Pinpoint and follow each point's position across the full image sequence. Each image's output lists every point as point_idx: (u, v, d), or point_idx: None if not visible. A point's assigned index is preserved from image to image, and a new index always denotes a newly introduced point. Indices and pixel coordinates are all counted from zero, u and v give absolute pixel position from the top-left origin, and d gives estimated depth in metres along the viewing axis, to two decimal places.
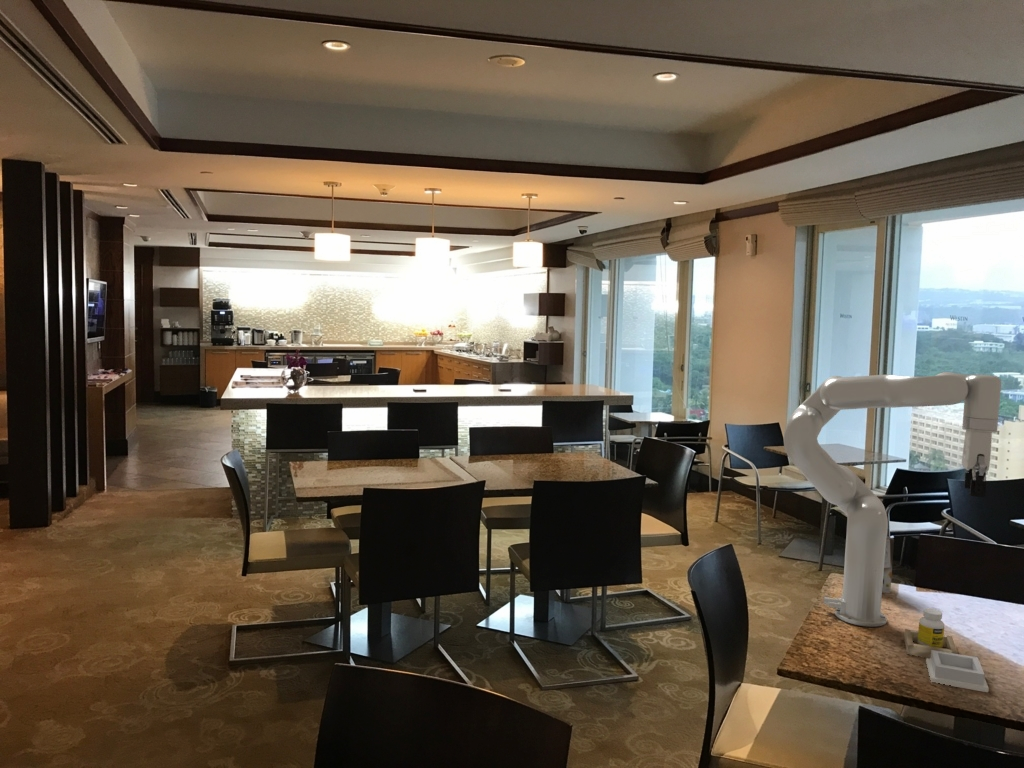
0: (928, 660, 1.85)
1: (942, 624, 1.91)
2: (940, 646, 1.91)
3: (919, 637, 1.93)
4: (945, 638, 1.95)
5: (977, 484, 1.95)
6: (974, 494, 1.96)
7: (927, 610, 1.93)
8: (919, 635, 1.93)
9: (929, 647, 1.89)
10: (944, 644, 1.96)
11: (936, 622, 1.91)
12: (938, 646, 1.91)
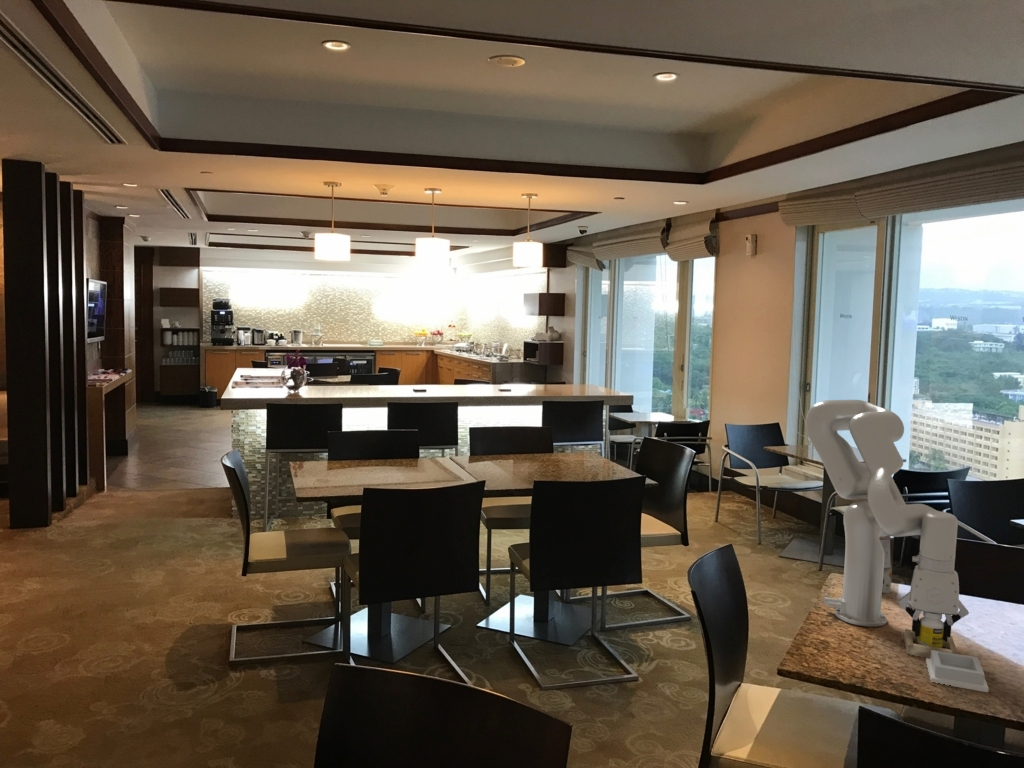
0: (928, 660, 1.85)
1: (942, 624, 1.91)
2: (940, 646, 1.91)
3: (919, 637, 1.93)
4: None
5: (950, 628, 1.91)
6: None
7: None
8: (919, 635, 1.93)
9: (929, 647, 1.89)
10: (944, 644, 1.96)
11: (936, 622, 1.91)
12: (938, 646, 1.91)
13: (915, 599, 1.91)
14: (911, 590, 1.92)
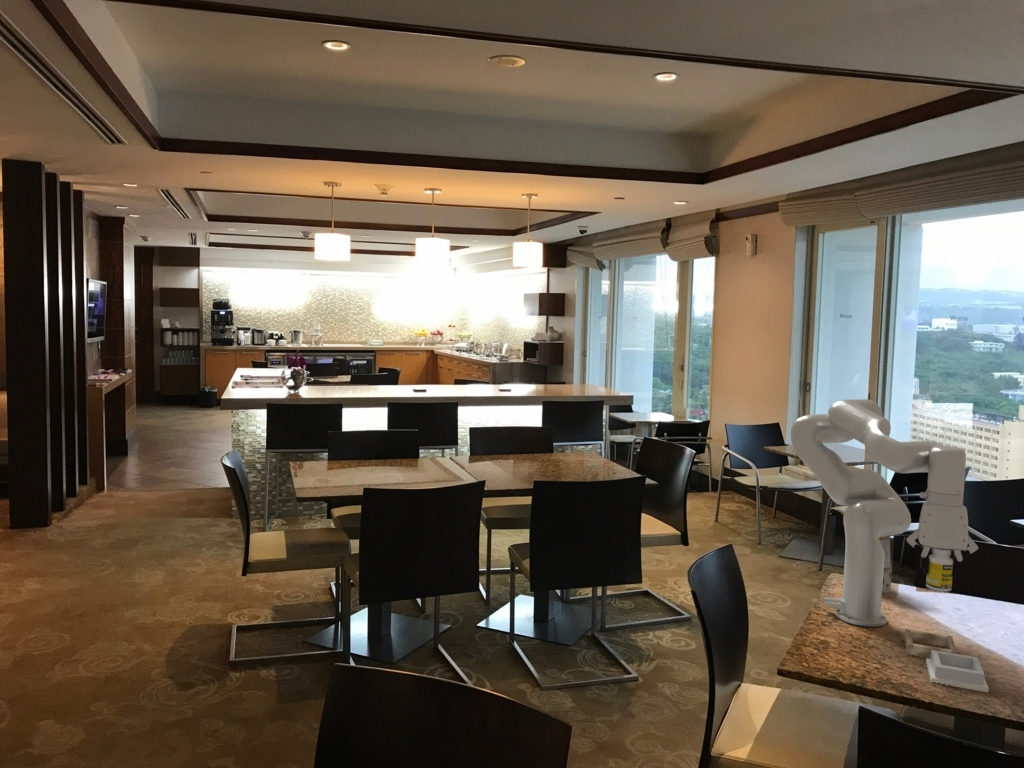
0: (928, 660, 1.85)
1: (951, 560, 1.88)
2: (950, 583, 1.87)
3: (928, 575, 1.90)
4: (945, 638, 1.95)
5: None
6: None
7: None
8: (928, 573, 1.90)
9: (929, 647, 1.89)
10: (944, 644, 1.96)
11: (945, 558, 1.87)
12: (948, 583, 1.87)
13: (924, 535, 1.88)
14: (919, 527, 1.89)
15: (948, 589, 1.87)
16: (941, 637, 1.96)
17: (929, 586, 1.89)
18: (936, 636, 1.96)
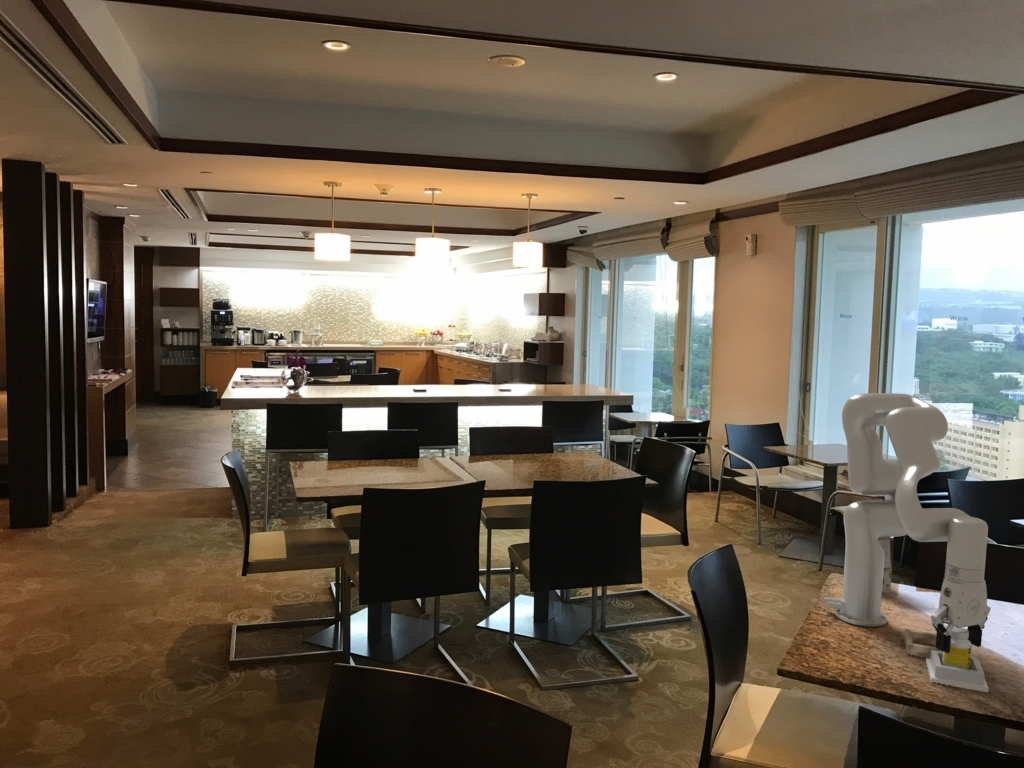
0: (928, 660, 1.85)
1: (969, 641, 1.79)
2: None
3: (952, 661, 1.77)
4: None
5: None
6: None
7: (954, 630, 1.78)
8: (951, 659, 1.77)
9: (929, 647, 1.89)
10: None
11: (967, 641, 1.77)
12: (969, 665, 1.78)
13: (958, 617, 1.74)
14: (951, 608, 1.74)
15: None
16: None
17: None
18: None
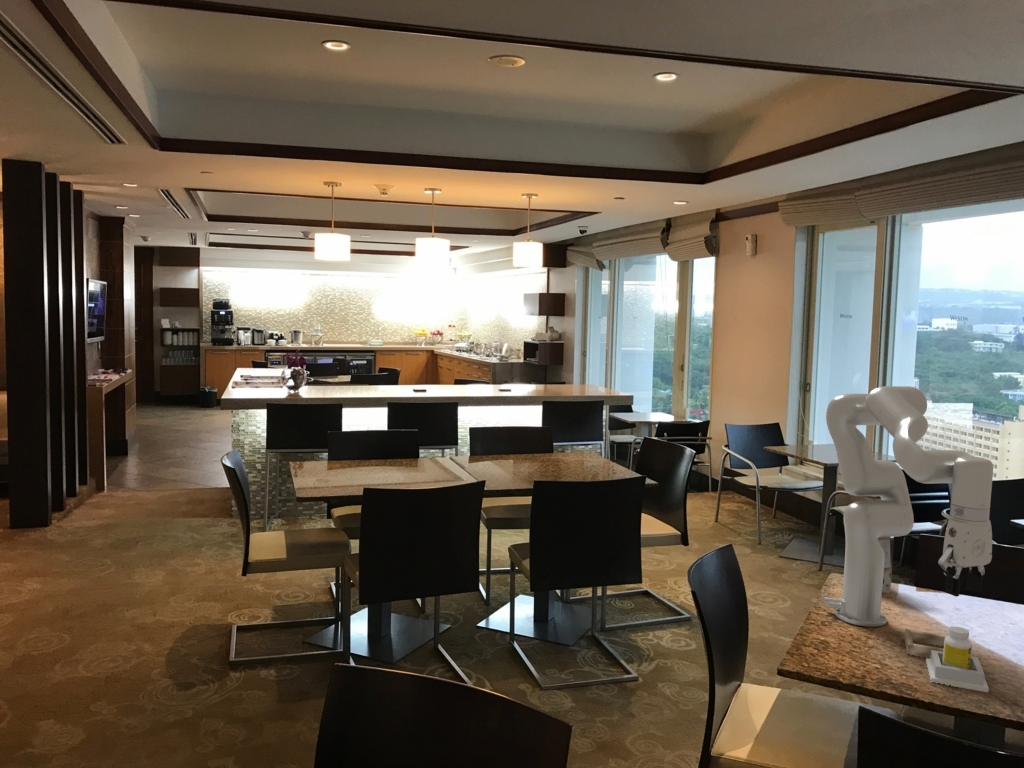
0: (928, 660, 1.85)
1: (969, 641, 1.79)
2: None
3: (952, 661, 1.77)
4: None
5: None
6: None
7: (955, 630, 1.78)
8: (951, 659, 1.77)
9: (929, 647, 1.89)
10: None
11: (967, 641, 1.77)
12: (969, 665, 1.78)
13: (963, 556, 1.73)
14: (957, 547, 1.73)
15: None
16: (941, 637, 1.96)
17: None
18: (936, 636, 1.96)
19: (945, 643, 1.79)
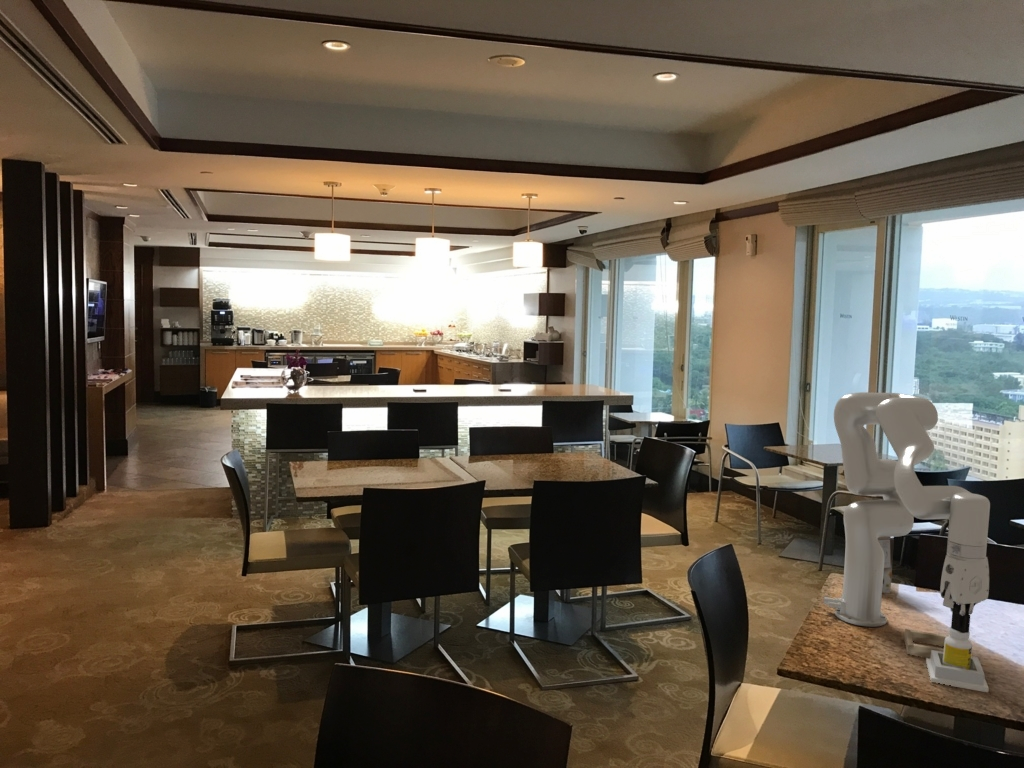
0: (928, 660, 1.85)
1: None
2: None
3: (952, 661, 1.77)
4: None
5: None
6: None
7: (955, 630, 1.78)
8: (951, 659, 1.77)
9: (929, 647, 1.89)
10: None
11: (967, 641, 1.77)
12: (969, 666, 1.78)
13: (960, 593, 1.73)
14: (954, 584, 1.74)
15: None
16: (941, 637, 1.96)
17: None
18: (936, 636, 1.96)
19: (945, 643, 1.79)
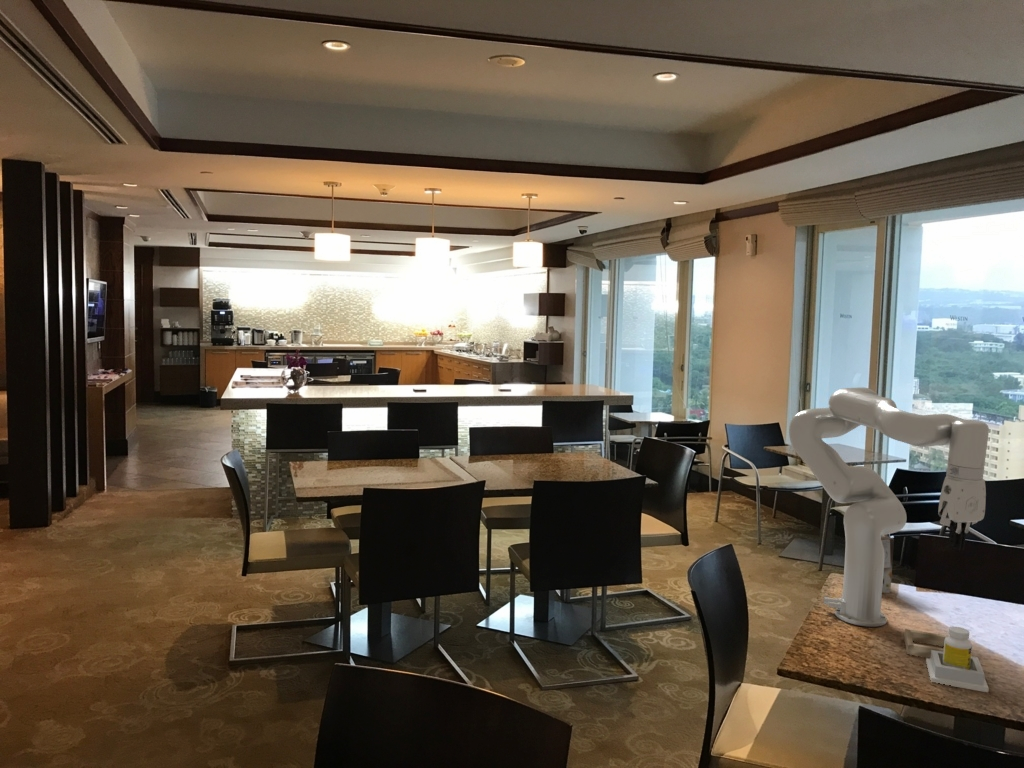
0: (928, 660, 1.85)
1: (969, 641, 1.79)
2: None
3: (952, 661, 1.77)
4: None
5: None
6: None
7: (955, 630, 1.78)
8: (951, 659, 1.77)
9: (929, 647, 1.89)
10: None
11: (967, 641, 1.77)
12: (969, 665, 1.78)
13: (956, 512, 1.85)
14: (950, 503, 1.86)
15: None
16: (941, 637, 1.96)
17: None
18: (936, 636, 1.96)
19: (945, 643, 1.79)
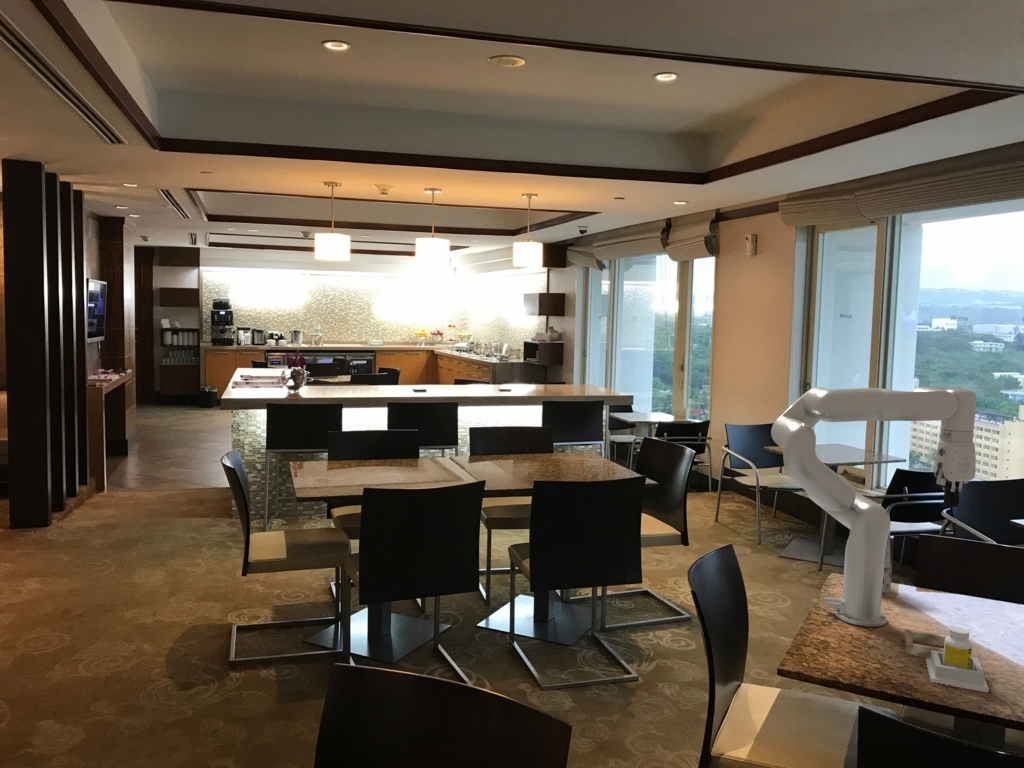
0: (928, 660, 1.85)
1: (969, 641, 1.79)
2: None
3: (952, 661, 1.77)
4: None
5: None
6: None
7: (955, 630, 1.78)
8: (951, 659, 1.77)
9: (929, 647, 1.89)
10: None
11: (967, 641, 1.77)
12: (969, 666, 1.78)
13: (951, 471, 2.05)
14: (945, 464, 2.05)
15: None
16: (941, 637, 1.96)
17: None
18: (936, 636, 1.96)
19: (945, 643, 1.79)
